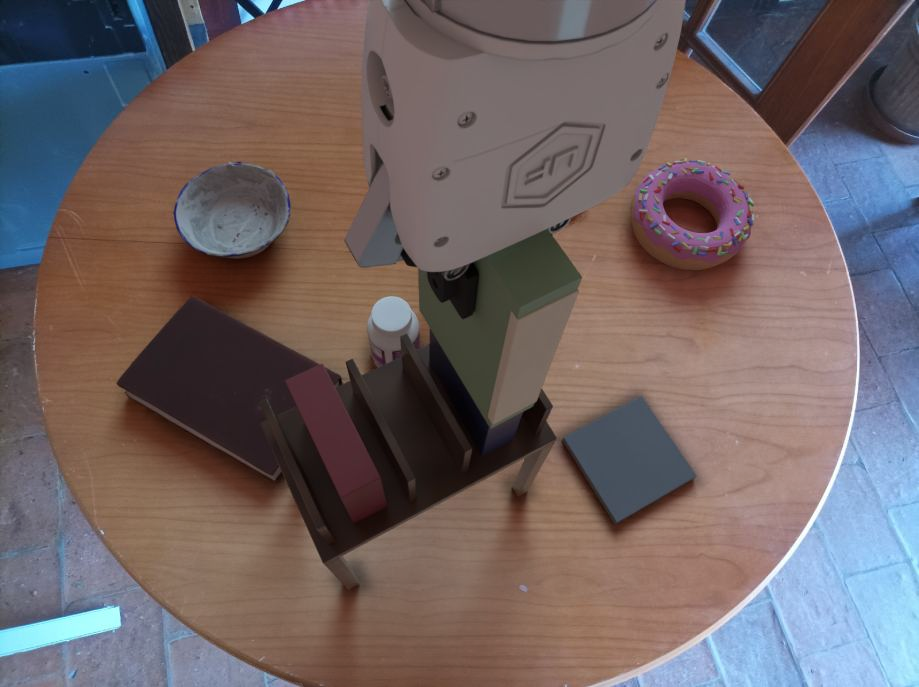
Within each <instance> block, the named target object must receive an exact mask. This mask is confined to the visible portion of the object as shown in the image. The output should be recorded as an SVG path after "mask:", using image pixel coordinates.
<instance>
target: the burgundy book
mask: <svg viewBox="0 0 919 687" xmlns="http://www.w3.org/2000/svg"><path fill="white" fill-rule="evenodd" d="M319 364H320V365H318V366H315V367H313V368H311V369H309V370H307V371H305V372H302V373H300V374H298V375H296V376H294V377H292V378H289V379H287V380H285V383H286V385H287V387H288V389H289V391H290V393H291V395H292V398H293V400H294V402H295V404H296V406H297V408H298V410H299V412H300V414H301V417H302V419H303V421H304V423H305V425H306V427H307V429H308V431H309V433H310V435H311V438H312V440H313V442H314V444H315V446H316V448H317V450H318V452H319V454H320V456H321V459H322V461H323V463H324V465H325V467H326V469H327V471H328V473H329V475H330V477H331V480H332V482H333V484H334V486H335V488H336V490H337V492H338V494H339V496H340V498H341V500H342V502H343V504H344V506H345V508H346V510H347V512H348V514H349V516H350V518H351V520H352V522H353V524H355V523H356V522H358V521H360V520H362V519H364V518H366V517H368V516H370V515H372V514H374V513H375V512H377V511H379V510H381V509H383V508H385V507H387V502H386V498H385V494H384V490H383V486H382V482H381V478H380V475H379V473H378V471H377V469H376V467H375V465H374V463H373V461H372V459H371V457H370V455H369V453H368V451H367V449H366V448H365V446H364V444H363V442H362V440H361V438H360V436H359V434H358V432H357V430H356V428H355V426H354V424H353V422H352V420H351V418H350V416H349V414H348V412H347V410H346V408H345V406H344V404H343V402H342V400H341V398H340V396H339V394H338V392H337V390H336V388H335V386H334V384H333V382H332V380H331V378H330V376H329V374H328V372H327V370H326V368H327V367H326V366H325V364H324V363H323V362H322V363H319ZM325 367H326V368H325Z"/></svg>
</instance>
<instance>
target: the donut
mask: <svg viewBox="0 0 919 687" xmlns="http://www.w3.org/2000/svg"><path fill="white" fill-rule="evenodd" d="M744 189H745V186H744V185H741V182H739V181H738V180H737V179H736V178H733V177H732V176H731V173H730V171H726V170H725V169H723V168H720V167H718V166H717V165H716V166H714V165H712V163H711V162H708V163H706V161H705V160H688V157H684V158H681V159H676V160H675V161H673V162H672V163H671V162H668V161H667V162H665V164H663V165H661V166H660V167H658V168H656V169H654V170H652V171H650V172H649V173H647V174H646V175H645V176H644V178H643V179H642V180H641V181H640V182H639V183H638V185H637V187H636V189H635V190H634V192H633V196H632V198H631V203H630V221H631V227H632V230H633V233H634V235H635V238H636V239H637V240H638V242H639V244H640V245H641V247H642V248H643V249H644V251H646V253H648V254H649V255H650V256H651V257H653V258H654V259H655V260H657V261H659V262H660V263H663V264H665V265H667V266H668V267H671V268H672V267H673V268H675V269H679V270H683V271H684V270H686V271H702V270H707V269H711V268H714V267H716V266H719V265H721V264H723V263H725V262H727V261H729V260H730V259H731V258H732V257H734V256H736V254H737V253H738V252H739V251H740V250H741V249H742V247H743V246H744V245H745V243H747V240H748V239H750V236H751V233H752V227H753V226H754V222H755V214H754V213H753V209H752V207H754V206H755V203H754V200H752V199H751V197H749V195H748V191H745V190H744ZM672 199H685V200H688V201H689V200H690V201H691V202H694V203H697V204H699V205H700V206H702V207H704V208H705V209H706V210H707V211H708V212H709V214H710V215H711V216H712V217H713V219H714V221H715V224H716V229H715V230H713V231H711V232H695V231H690V230H688V229H686V228H683V227H681V226H679V225H678V224H676V223H675V222H674V221H673V220H672V219H671V218H670V217H669V216H668V214H667V213H666V209H665V208H664V202H666V201H668V200H672Z"/></svg>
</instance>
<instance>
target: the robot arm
mask: <svg viewBox="0 0 919 687" xmlns="http://www.w3.org/2000/svg"><path fill="white" fill-rule="evenodd" d="M367 4H368V5H367V12H366V20H365V26H364V36H363V49H362V60H361V61H362V63H361V86H360V87H361V88H360V89H361V90H360V91H361V92H360V104H361V105H360V106H361V107H360V108H361V109H360V110H361V112H360V113H361V135H362V151H363V152H362V154H363V163H364V170H365V177H366V181H367V185H368V190H367V192H366V193H365V196H364V198H363V200H362V202H361V204H360V207H359V208H358V210H357V212H356V214H355V216H354V219H353V220H352V222H351V224H350V227H349V229H348V230H347V233H346V235H345V237H344V243H345V245H346V247H347V249H348V251H349V252H350V254H351V256H352V257H353V259H354V261H355V262H356V264H357V266H358V267H359V268H362V269H366V268H375V267H383V266H391V265H392V266H393V265H396V264H397V263H398V262H401V261H404V263H405V265H407V267H412V268H417V269H418V268H419V269H420V270H423V271H427V278H428V281H429V284H430V286H431V288H432V290H433V292H434V294H435V295H436V297H437V298H438V300H439V301H440V302H441V303H443V302H446V301H448V300H450V301H451V303H452V305H453V306H454V308H455V309H456V311H457V313H458V314H459V316H460V317H461V318H462V319H465V318H468V317H470V316H472V315H473V312H474V311H475V305H476V297H477V289H478V280H479V273H478V270H477V268H476V267H475V265H474V264H473V262H474V261H477V260H479V259H481V258H484V257H486V256H488V255H490V254H493V253H495V252H497V251H499V250H502V249H504V248H506V247H508V246H510V245H513V244H515V243H517V242H519V241H522V240H524V239H526V238H528V237H530V236H533V235H535V234H537V233H539V232H541V231H543V230H546V229H548V230H549V232H550V233H551V234H552V236H553V234H556V233H558V232H561V231H562V230H564V228H566V227H567V226H568V225H569V224H570V222H571V220H572V218H573V217H576V216H578V215H580V214H582V213H585V212H586V211H588V210H590V209H593V208H594V207H596V206H598V205H601V204H602V203H604V202H606V201H608V200H610V199H611V198H613V197H614V196H616V195H617V194H619V193H620V192H621V191H622V190H624V189H626V187H628V186H629V184H630V183H631V182H632V181H633V179H634V178H635V176H636V174H637V172H638V170H639V168H640V166H641V164H642V162H643V159H644V157H645V155H646V152H647V150H648V147H649V143H650V142H651V139H652V136H653V133H654V130H655V127H656V125H657V121H658V118H659V115H660V112H661V109H662V106H663V103H664V99H665V96H666V93H667V91H668V90H667V89H668V86H669V83H670V79H671V76H672V71H673V68H674V63H675V60H676V56H677V51H678V46H679V42H680V37H681V33H682V29H683V28H682V26H683V21H684V15H685V9H686V8H685V7H686V0H368V3H367Z"/></svg>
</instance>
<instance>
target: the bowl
mask: <svg viewBox="0 0 919 687" xmlns="http://www.w3.org/2000/svg"><path fill="white" fill-rule="evenodd" d="M172 213H173V214H172V215H173V219H174V223H175V228H176V231H177V232H178V234H179V236H180V237H181V239H182V240H183V241H184V242H185V244H187V245H188V246H189V247H191V249H193V250H195V251H197V252H199V253H201V254H204V255H206V256H211V257H216V258H227V259H237V260H238V259H247V258H251V257H254V256H256V255H259V254H260V253H262V252H263V251H264V250H266V249H267V248H268V247H269V246H270V245H271V244H273V243H274V242H275V241H276V240H277V239H279V237H280V236H281V235H282V233H283V232H284V231H285V229H286V228H287V226H288V224H289V222H290V217H291V199H290V194H289V192H288V190H287V188H286V186H285V185H284V183H283V181H282V180H281V178H279V177H278V176H277V174H276V172H275V171H273V170H271V169H269V168H265V167H263V166H259V165H257V164H251V163H248V162H242V161H236V162H232V161H228V162H226V163H225V164H220V165H216V166H213V167H210V168H208V169H206V170H204V171H202V172H200V173H198V174H196V176H195V177H193V178H191V179H190V180H189V181H187V182H186V184H184V185H183V188H181V190H180V191H179V194H178V196H177V197H176V202H175V205H174V208H173V212H172Z"/></svg>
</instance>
